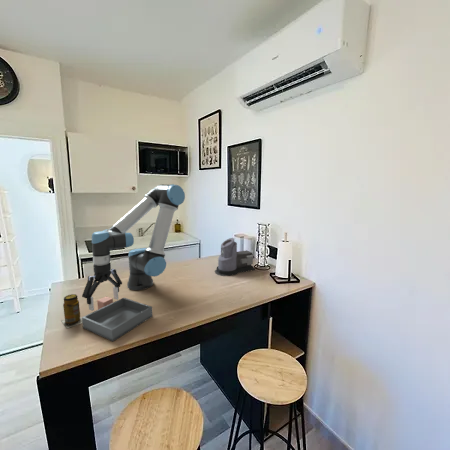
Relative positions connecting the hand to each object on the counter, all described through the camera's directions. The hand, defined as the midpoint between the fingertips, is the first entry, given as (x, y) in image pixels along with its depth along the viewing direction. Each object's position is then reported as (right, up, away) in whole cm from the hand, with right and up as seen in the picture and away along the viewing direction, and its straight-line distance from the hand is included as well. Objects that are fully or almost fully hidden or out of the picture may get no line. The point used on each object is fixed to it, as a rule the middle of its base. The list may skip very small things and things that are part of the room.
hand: (104, 304), depth 123 cm
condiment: (-9, -5, -11) cm, 15 cm away
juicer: (+67, +6, +56) cm, 88 cm away
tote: (+12, -4, -11) cm, 17 cm away
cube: (0, -3, +1) cm, 3 cm away
